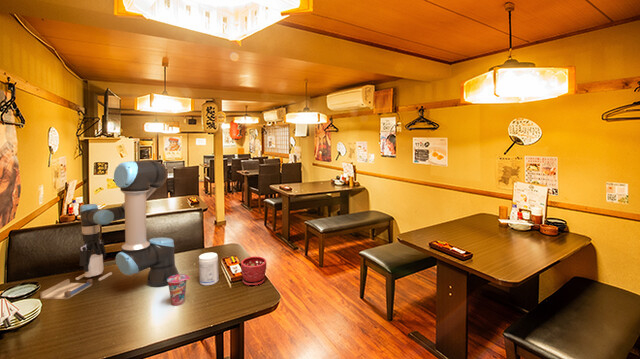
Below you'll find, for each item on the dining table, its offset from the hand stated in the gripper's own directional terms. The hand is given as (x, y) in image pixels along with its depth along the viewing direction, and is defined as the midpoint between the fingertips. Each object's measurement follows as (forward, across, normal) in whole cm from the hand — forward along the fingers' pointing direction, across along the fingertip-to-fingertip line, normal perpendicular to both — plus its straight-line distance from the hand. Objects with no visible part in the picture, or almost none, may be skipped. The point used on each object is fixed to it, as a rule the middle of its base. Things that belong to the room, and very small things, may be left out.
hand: (94, 273), depth 156 cm
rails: (+2, 0, -1) cm, 2 cm away
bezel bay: (+2, +16, -1) cm, 16 cm away
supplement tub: (+4, +2, +64) cm, 64 cm away
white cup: (0, 0, 0) cm, 0 cm away
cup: (+4, +23, +59) cm, 64 cm away
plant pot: (+4, +1, +88) cm, 88 cm away
